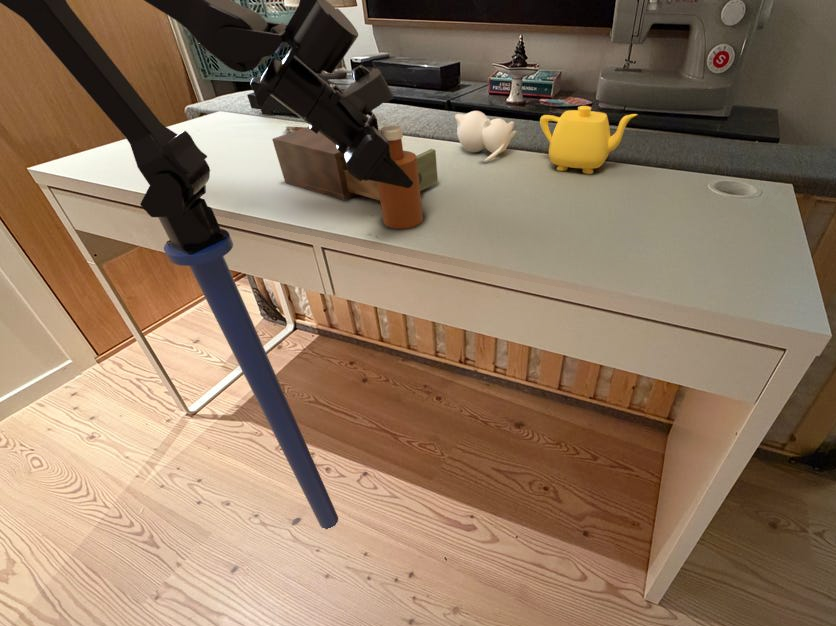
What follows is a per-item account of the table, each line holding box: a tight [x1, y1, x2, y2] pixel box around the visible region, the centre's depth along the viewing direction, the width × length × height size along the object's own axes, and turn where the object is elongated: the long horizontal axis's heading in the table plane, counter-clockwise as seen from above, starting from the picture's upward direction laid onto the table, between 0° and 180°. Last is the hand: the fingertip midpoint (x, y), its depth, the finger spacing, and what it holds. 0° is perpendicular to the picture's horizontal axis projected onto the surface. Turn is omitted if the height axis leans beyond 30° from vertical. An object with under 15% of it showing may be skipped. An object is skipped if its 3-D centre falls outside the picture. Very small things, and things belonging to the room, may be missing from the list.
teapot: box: [539, 105, 638, 175], centre depth 89 cm, size 18×11×11 cm, turn 71°
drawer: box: [340, 148, 439, 201], centre depth 82 cm, size 18×14×6 cm
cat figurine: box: [454, 110, 517, 164], centre depth 96 cm, size 9×11×12 cm
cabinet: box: [271, 125, 381, 201], centre depth 86 cm, size 16×14×8 cm
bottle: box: [377, 125, 424, 230], centre depth 71 cm, size 6×6×14 cm
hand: (405, 174), depth 71 cm, fingers open, 9 cm apart
